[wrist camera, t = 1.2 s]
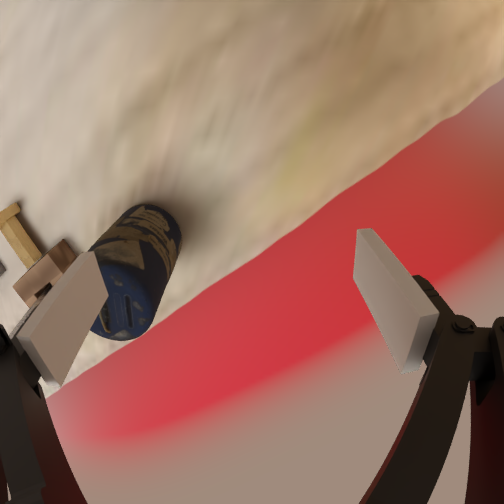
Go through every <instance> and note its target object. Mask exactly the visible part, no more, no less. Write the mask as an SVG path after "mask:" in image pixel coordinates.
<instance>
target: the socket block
mask: <svg viewBox="0 0 504 504" xmlns="http://www.w3.org/2000/svg"><path fill="white" fill-rule="evenodd" d="M76 259H77V257H76V255H75V254H74V253H73V251H72V250H71V249H70V247H69V246H68V245H67V243H66V242H65V240H64V239H63V240H62V241H60V242H59V243H58V244H57V245H56V246H55V247H53V248H52V249H51V250H50V251H49V252H48V253H47V254H46V255H44V256H43V257H42V258H41V259H40V260H39V261H38V262H37V263H36V264H35V265H33V266H32V267H31V268H30V269H29V270H28V271H27V272H26V273H25V274H24V275H23V276H22V277H21V278H20V279H19V280H18V281H17V282H16V283H15V284H14V285H13V288H14V289H15V291H16V292H17V293H18V295H19V296H20V297H21V298H22V300H23V301H24V302H25V303H26V304H27V306H28V307H29V308H31V306H32V305H33V304H34V303H35V301H36V300H37V299H38V298H39V296H40V295H41V294H42V293H43V292H44V290H45V289H46V288H47V287H48V286H49V285H50V283H51V284H52V286H54V285H55V284H56V282H57V281H58V280H59V279H60V278H61V276H62V275H63V274H64V273H65V272H66V270H67V269H68V268H69V267H70V266H71V264H72V263H73V262H74V261H75V260H76Z"/></svg>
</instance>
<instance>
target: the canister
mask: <svg viewBox="0 0 504 504" xmlns="http://www.w3.org/2000/svg"><path fill="white" fill-rule="evenodd" d="M181 244H182V237H181V232H180V229H179V227H178V224H177V223H176V221H175V220H174V218H173V217H172V216H171V215H170V214H169V213H167V212H166V211H165V210H163V209H161V208H159V207H156V206H153V205H139V206H135V207H132V208H130V209H129V210H127V211H126V212H125V213H124V214H122V216H121V217H120V218H119V219H118V220H117V221H116V222H115V223H114V224H113V225H112V226H111V227H110V228H109V229H108V230H107V231H106V232H105V233H104V234H103V235H102V236H101V237H100V238H99V239H98V240H97V241H96V242H95V244H94V245H93V246H91V248H90V249H89V250H88V252H91V251H94V254H95V257H96V260H97V263H98V266H99V269H100V272H101V275H102V278H103V281H104V284H105V287H106V290H107V292H108V295H109V296H108V298H107V300H106V301H105V303H104V305H103V307H102V308H101V310H100V312H99V314H98V316H97V317H96V319H95V321H94V323H93V325H92V327H91V328H90V331H92V332H94V333H95V334H97V335H99V336H102V337H104V338H107V339H111V340H117V341H126V340H131V339H135V338H137V337H139V336H141V335H142V334H143V333H145V332H146V331H147V330H148V328H149V327H150V325H151V324H152V322H153V319H154V317H155V314H156V311H157V309H158V306H159V304H160V301H161V298H162V296H163V293H164V290H165V288H166V285H167V283H168V281H169V279H170V276H171V274H172V272H173V269H174V266H175V263H176V260H177V258H178V255H179V253H180V249H181Z"/></svg>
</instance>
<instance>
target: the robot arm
mask: <svg viewBox="0 0 504 504" xmlns="http://www.w3.org/2000/svg"><path fill="white" fill-rule="evenodd" d="M353 279H354V281H355V283H356V285H357V286H358V289H359V290H360V292H361V294H362V296H363V298H364V300H365V302H366V304H367V305H368V308H369V310H370V312H371V314H372V316H373V317H374V319H375V321H376V323H377V325H378V327H379V329H380V332H381V333H382V336H383V338H384V340H385V342H386V344H387V346H388V348H389V350H390V352H391V354H392V356H393V358H394V361H395V363H396V365H397V367H398V369H399V371H400V374H405V373H409V372H413V371H417V370H419V368H420V365H421V363H422V360H424V362H425V364H426V365H427V368H426V371H425V373H424V375H423V377H422V380H421V382H420V384H419V385H420V386H419V389H418V391H417V394H416V396H415V398H414V401H413V403H412V405H411V408H410V410H409V412H408V415H407V417H406V419H405V421H404V423H403V425H402V428H401V430H400V432H399V434H398V436H397V438H396V440H395V442H394V444H393V446H392V448H391V450H390V452H389V453H388V455H387V457H386V459H385V461H384V463H383V465H382V466H381V468H380V470H379V471H378V473H377V475H376V477H375V478H374V480H373V482H372V483H371V485H370V487H369V488H368V490H367V491H366V493H365V495H364V496H363V498H362V499H361V501H360V502H359V504H427V502H428V500H429V498H430V496H431V494H432V491H433V489H434V487H435V485H436V482H437V480H438V478H439V475H440V473H441V470H442V468H443V465H444V463H445V460H446V457H447V455H448V452H449V449H450V446H451V443H452V440H453V437H454V434H455V431H456V428H457V424H458V421H459V417H460V414H461V410H462V407H463V403H464V399H465V395H466V391H467V387H468V382H469V381H470V396H471V441H470V442H471V443H470V460H469V472H468V482H467V490H466V498H465V504H504V317H499V318H497V319H496V320H495V321H494V323H493V326H492V328H485V327H484V328H483V327H477V326H476V325H475V323H474V322H473V321H472V320H471V319H469V318H467V317H465V316H462V315H455V314H454V313H453V311H452V310H451V309H450V308H449V306H448V305H447V303H446V302H445V301H444V300H443V299H442V297H441V296H439V293H438V292H437V291H436V290H434V287H433V286H432V285H431V284H430V282H429V281H428V280H426V279H425V278H423V277H421V276H420V275H415V276H411V275H410V274H409V272H408V271H407V270H406V269H405V267H404V266H403V265H402V264H401V262H400V261H399V260H398V259H397V257H396V256H395V255H394V254H393V253H392V251H391V250H390V249H389V248H388V247H387V246H386V245H385V243H384V242H383V241H382V240H381V238H380V237H379V236H378V235H377V234H376V233H375V232H374V230H373V229H372V228H370V229H357V240H356V252H355V263H354V273H353ZM108 296H109V295H108V292H107V290H106V287H105V284H104V281H103V278H102V275H101V272H100V269H99V266H98V263H97V260H96V257H95V254H94V251H91V252H82V253H81V254H80V255H79V256H78V257H77V259H76V260H75V261H74V262H73V263H72V264H71V266H70V267H69V268H68V269H67V270H66V272H65V273H64V274H63V275H62V276H61V278H60V279H59V280H58V281H57V282H56V284H55V285H54V286H53V287H52V289H51V290H50V291H49V292H48V294H47V295H46V296H45V298H44V299H43V300H42V301H41V303H40V304H38V305H37V306H36V307H35V308H34V309H33V310H32V311H31V313H30V314H29V315H28V316H29V317H27V318H26V319H25V321H24V323H22V325H21V326H20V328H19V329H18V330H17V332H16V333H15V335H14V336H13V337H12V339H10V337H9V336H8V334H7V332H6V330H5V329H4V327H3V325H1V324H0V504H87V502H86V500H85V498H84V496H83V494H82V492H81V490H80V488H79V486H78V484H77V482H76V480H75V478H74V475H73V473H72V471H71V468H70V466H69V464H68V462H67V459H66V457H65V455H64V452H63V449H62V447H61V444H60V442H59V439H58V437H57V434H56V431H55V428H54V425H53V422H52V419H51V416H50V413H49V411H48V407H47V404H46V400H45V397H44V393H43V390H42V387H41V385H40V384H39V382H38V381H39V379H40V377H41V376H42V378H43V379H44V381H45V382H46V384H47V385H49V386H55V387H61V386H62V384H63V382H64V380H65V378H66V376H67V374H68V372H69V370H70V368H71V365H72V363H73V361H74V359H75V357H76V355H77V353H78V351H79V349H80V348H81V346H82V344H83V342H84V340H85V338H86V336H87V334H88V332H89V330H90V328H91V327H92V325H93V323H94V321H95V319H96V317H97V316H98V314H99V312H100V310H101V308H102V307H103V305H104V303H105V301H106V300H107V298H108ZM7 484H8V487H9V491H10V494H11V500H10V501H8V490H7Z"/></svg>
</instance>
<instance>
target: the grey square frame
mask: <svg viewBox="0 0 504 504" xmlns="http://www.w3.org/2000/svg"><path fill="white" fill-rule="evenodd" d="M5 271H6V269H5V268H4V267H3V265H2V264H1V262H0V276H1V275H2V274H3V273H4V272H5Z"/></svg>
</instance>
